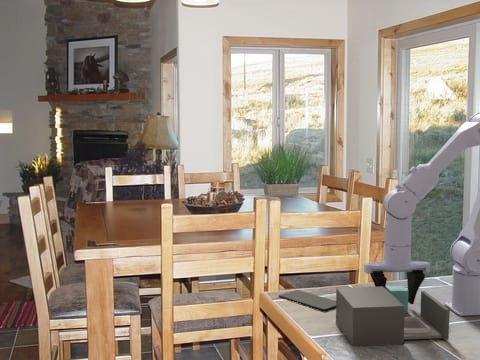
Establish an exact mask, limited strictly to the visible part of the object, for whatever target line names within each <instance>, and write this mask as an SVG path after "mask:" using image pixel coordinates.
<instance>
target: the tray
mask: <svg viewBox="0 0 480 360" xmlns="http://www.w3.org/2000/svg"><path fill="white" fill-rule="evenodd" d="M450 310H451V309H450V308H449V307H447V306H446V305H445V304H443V303H441V302H440V301H439V300H437V299H436V298H434V297H433V296H432V295H431V294H429V293H428V292H426V291H425V290H421V291H420V311H419V312H420V314H419V315H420V316H419V317H418V315H417V316H416V315H415V316H404V340H421V339H422V340H425V339H426V340H427V339H443V341H449V340H450V339H449V338H450V337H449V334H450Z"/></svg>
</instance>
